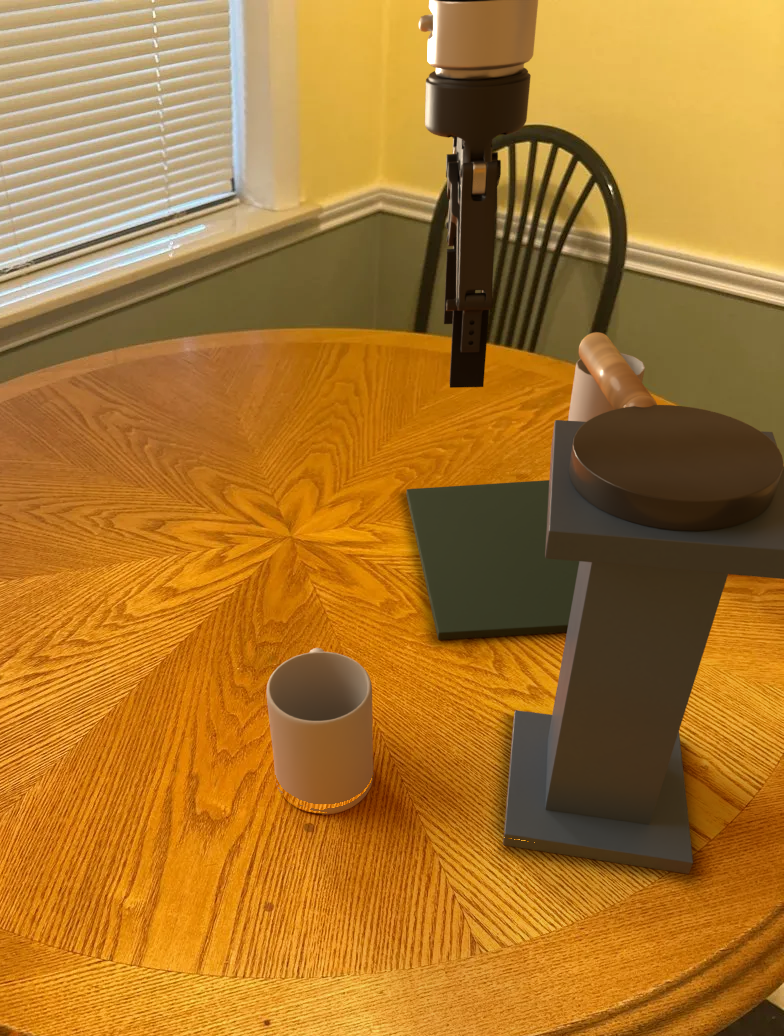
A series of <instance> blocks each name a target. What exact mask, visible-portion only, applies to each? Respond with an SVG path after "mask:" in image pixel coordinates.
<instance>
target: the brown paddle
mask: <svg viewBox="0 0 784 1036" xmlns="http://www.w3.org/2000/svg"><path fill="white" fill-rule="evenodd" d="M620 353H621V352H620V351H619V349H618V348H617V347H616V345H615V344H614V343H613V342H612V340H611V339H610V338H609V336H607V335H606V334H605V333H603V332H599V331H598V332H597V331H594V332H591V333H589V334H587V335H585V336H584V337H583V339H581V340H580V343H579V345H578V356H579V359H580V358H581V360H582V361H583V363H584V364H585V366H586V367H587V369H588V370H589V372H590V374H591V375H592V377H593V378H594V380H595V381H596V383H597V384H598V386H599V387H600V389H601V390H602V392H603V394H604V395H605V397H606V398H607V400H608V401H609V403H610V404H611V406H612V407H613V409H614V410H611V411H608V412H605V413H602V414H600V415H598V416H595V417H593V418H592V419H590V420H588V421H587V422H586V423H584V424H583V425H582V426H581V427H580V428H579V430H578V431H577V432H576V434H575V436H574V439H573V445H572V452H571V458H570V464H569V477H570V479H571V482H572V484H573V486H574V487H575V489H576V490H577V491H578V493H579V494H580V495H581V496H582V497H583V498H585V499H586V500H587V501H588V502H589V503H591V504H592V505H594V506H595V507H597V508H599V509H600V510H602V511H604V512H606V513H608V514H610V515H613V516H615V517H618V518H620V519H623V520H626V521H629V522H632V523H636V524H640V525H644V526H648V527H653V528H659V529H667V530H676V531H707V530H717V529H723V528H728V527H732V526H736V525H739V524H742V523H745V522H747V521H749V520H752V519H753V518H755V517H757V516H759V515H760V514H761V513H762V512H763V511H765V510H766V509H767V508H768V506H769V505H770V504H771V502H772V500H773V497H774V494H775V491H776V488H777V485H778V482H779V479H780V476H781V473H782V470H783V466H784V459H783V454H782V452H781V450H780V448H779V447H778V445H777V446H776V445H775V443H774V442H773V441H772V440H771V439H770V438H769V437H767V436H766V435H765V434H763V433H762V432H761V430H760V429H758V428H756V427H754V426H753V425H750V424H749V423H746V422H744V421H742V420H739V419H737V418H735V417H731V416H729V415H726V414H722V413H719V412H716V411H711V410H706V409H702V408H697V407H691V406H683V405H672V404H658V403H657V401H656V400H655V398H654V397H653V396H652V395H651V393H650V392H649V390H648V388H647V387H645V385H644V384H643V381H642V382H641V381H640V379H639V378H638V377H637V375H636V374H635V373H634V371H633V370H632V369H631V367H630V366H629V365H628V363H627V362H626V361H625V359H624V358H623V357H622V355H621V354H620Z"/></svg>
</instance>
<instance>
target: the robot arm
mask: <svg viewBox="0 0 784 1036" xmlns="http://www.w3.org/2000/svg"><path fill="white" fill-rule="evenodd" d="M538 8H539V0H428V9H429V10H430V12H431V14H425V15H422V16H420V18H419V20H418V29H419V30H420V31H421V32H424V33H426V32H430V33H429V35H428V37H427V55H426V56H427V57H426V58H427V59H426V61H427V63H428V64H429V66H431V67H433V68H434V69H435V70H434V71H432V72H430V73H429V74H428V77H427V78H425V98H424V99H425V105H424V125H425V128H426V130H427V131H428V132H429V133H431V134H433V135H435V136H438V137H443V138H447V139H448V138H452V153H448V154H446V158H445V177H446V179H447V181H446V186H447V187H446V188H447V189H446V193H447V194H446V195H447V196H446V197H447V199H448V200H449V201H448V210H447V211H448V214H447V221H446V222H445V229H446V230H447V235H446V243H447V247H452V248H446V259H445V260H446V261H445V282H444V303H443V304H444V307H443V325H452V327H451V346H450V365H449V366H450V368H449V388H451V389H452V388H453V389H455V388H484V383H485V382H484V381H485V372H486V371H485V368H486V359H487V358H486V357H487V343H488V331H489V319H490V318H489V315H490V311H491V310H492V308H493V306H494V301H495V299H494V298H495V297H493V283H494V282H493V281H494V255H495V254H494V253H495V221H496V216H497V215H496V214H497V211H498V186H499V184H500V180H501V175H502V161H501V159H499V152H498V151H493V139H495V138H496V137H498V136H500V135H503V136H506V135H510V134H513V133H516V132H518V131H520V130H521V129H523V127H524V126H525V125H526V122H527V119H528V109H529V98H530V85H531V74H530V73H529V70H528V69H527V68H525V67H524V66H525V64H527V63H528V62H530V61H531V59H532V58H533V56H534V50H535V38H536V28H537V17H538ZM476 291H481V292H476Z"/></svg>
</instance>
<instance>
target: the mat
mask: <svg viewBox="0 0 784 1036" xmlns="http://www.w3.org/2000/svg"><path fill="white" fill-rule="evenodd" d="M405 493H406V495H405V496H406V500H407V505H408V509H409V514H410V518H411V522H412V527H413V532H414V536H415V542H416V546H417V551H418V554H419V559H420V563H421V567H422V568H421V569H422V573H423V577H424V582H425V586H426V591H427V596H428V600H429V605H430V609H431V613H432V618H433V623H434V627H435V632H436V636H437V639H438V641H443V640H444V641H445V640H460V639H461V640H462V639H463V640H464V639H478V638H494V637H495V638H496V637H509V636H510V637H511V636H527V635H528V636H529V635H544V634H561V633H567V629H568V623H569V618H570V612H571V606H572V601H573V595H574V589H575V584H576V578H577V573H578V567H579V561H571V560H560V559H548V558H545V548H546V531H547V514H548V496H549V479H547V480H546V479H544V480H530V481H528V480H527V481H515V482H499V483H483V484H467V485H466V484H465V485H451V486H436V487H435V486H433V487H420V488H418V487H417V488H406V492H405Z"/></svg>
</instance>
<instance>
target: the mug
mask: <svg viewBox="0 0 784 1036" xmlns="http://www.w3.org/2000/svg"><path fill="white" fill-rule="evenodd" d="M372 684H373V683H372V680H371V677H370V675H369V673H368V672H367V670H366V669H365V668H364V666H362V665H361V664H360V663H359V662H358V661H356V660H354V658H352V657H349V656H347V655H344V654H341V653H337V652H331V651H324V649H323V648H321V647H315V648H311V649H310V650H309V652H306V653H302V654H297V655H295V656H292V657H291V658H288V659H287V660H285V661H284V662H281V664H280V665H278V666H277V667H276V668H275V669H274V671H273V672H272V673H271V674H270V676H269V679H268V681H267V684H266V704H267V712H268V721H269V731H270V739H271V746H272V747H271V748H272V756H273V767H274V776H275V775H276V778H277V780H278V782H279V784H280V785H281V787H282V788H283V789H284V790H285V791H286V792H288V793H289V794H291V795H292V796H294V797H296V798H298V799H299V800H302V801H306V802H308V803H313V804H335V803H340V802H344V801H347V800H350V799H351V798H353V797H355V796H356V795H358V794H360V793H361V792H362V791H363V790H364V789H365V788H366V787H367V785H368V784H369V782H370V780H371V778H372V775H373V776H374V773H375V772H373V770H374V749H373V748H374V746H373V745H374V743H373V738H374V737H373V736H374V735H373V685H372ZM373 780H374V777H373V778H372V781H371V783H370V785H369V787H368V788H367V789H366V791H365V792H364V793H363V794H362V795H361V796H359V797H358V798H357V799H355V800H354V801H352V802H350V803H348V804H346V805H343V806H339V807H335V808H327V809H324V810H319V809H314V808H311V809H310V810H313V811H321V812H327V813H324V814H323V815H334V814H339V813H343V812H345V811H347V810H349V809H351V808H353V807H355V806H357V805H358V804H359V803H360V802H361V801H362V800H364V799H365V797H366V796H367V795H368V793H369V791H370V789H371V787H372V785H373ZM277 785H278V784H277V783H276V786H277ZM277 789H278V791H279V793H280V792H281V793H283V792H282V791H280V790H279V789H280V788H279V787H277ZM281 793H280V794H281ZM299 806H303V805H299ZM305 807H306V806H305Z"/></svg>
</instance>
